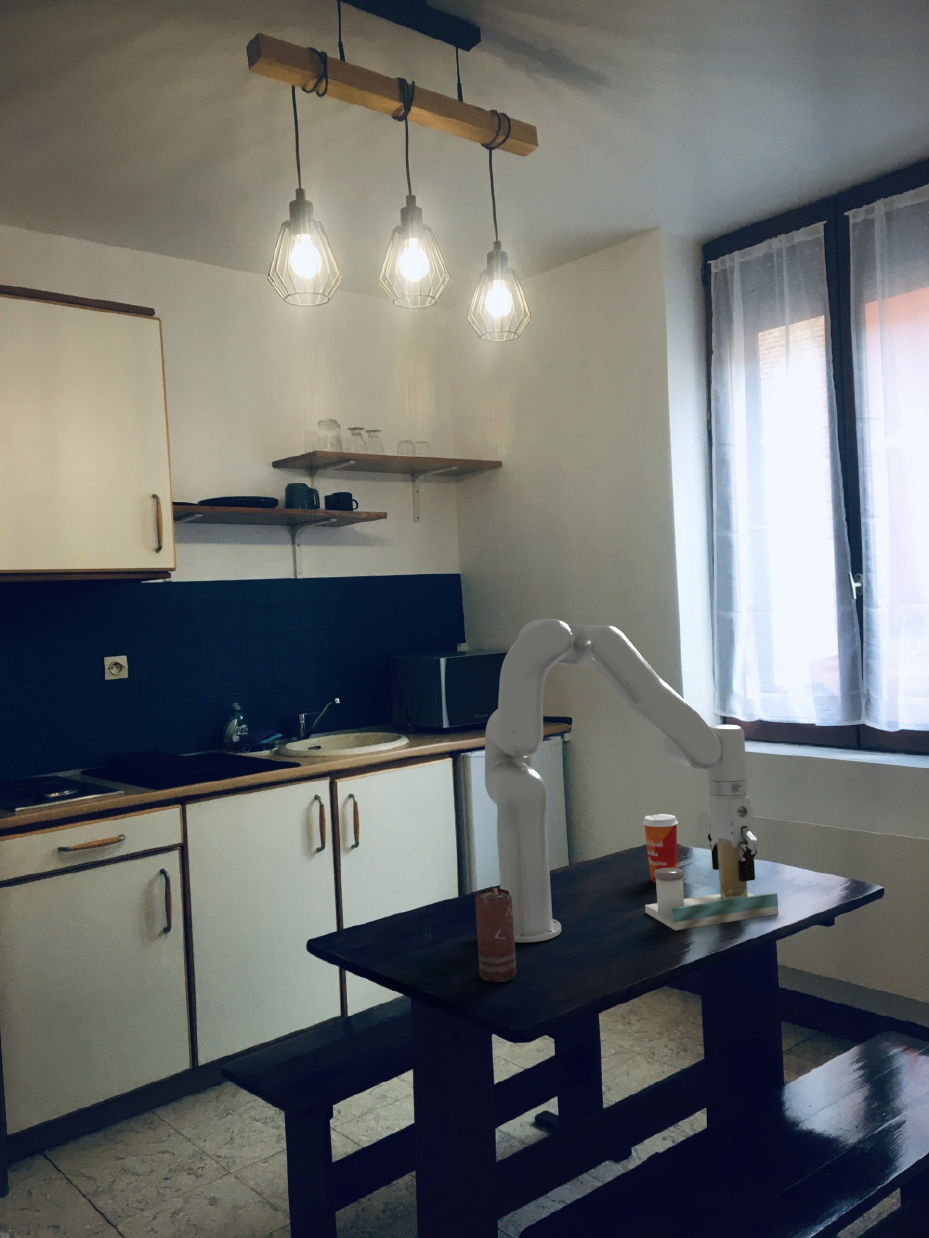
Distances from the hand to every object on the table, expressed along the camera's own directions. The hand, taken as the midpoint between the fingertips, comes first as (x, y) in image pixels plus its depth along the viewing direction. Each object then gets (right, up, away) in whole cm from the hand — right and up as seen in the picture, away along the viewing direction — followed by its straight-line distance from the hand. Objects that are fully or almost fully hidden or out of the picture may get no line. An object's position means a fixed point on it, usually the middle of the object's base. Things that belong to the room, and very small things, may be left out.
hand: (733, 874), depth 185 cm
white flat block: (-5, -7, -3) cm, 9 cm away
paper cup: (-9, -8, +22) cm, 25 cm away
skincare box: (0, -5, 0) cm, 5 cm away
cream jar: (-14, -6, -6) cm, 16 cm away
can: (-48, -9, -29) cm, 56 cm away
